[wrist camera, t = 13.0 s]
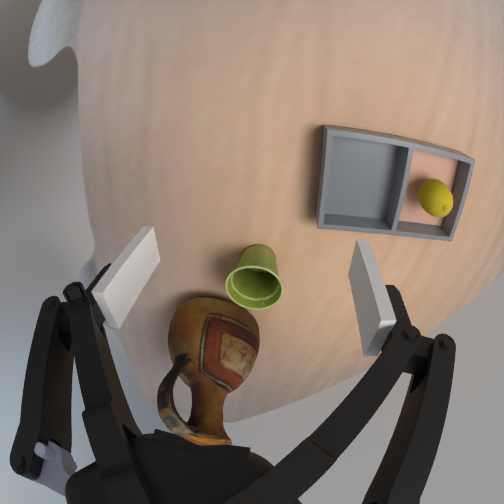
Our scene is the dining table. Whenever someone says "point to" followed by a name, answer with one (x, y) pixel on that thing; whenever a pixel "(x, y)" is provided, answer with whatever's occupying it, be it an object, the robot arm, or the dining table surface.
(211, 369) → the ceramic pitcher
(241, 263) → the plant pot
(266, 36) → the dining table surface
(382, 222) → the sorting tray
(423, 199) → the lemon
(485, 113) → the dining table surface
